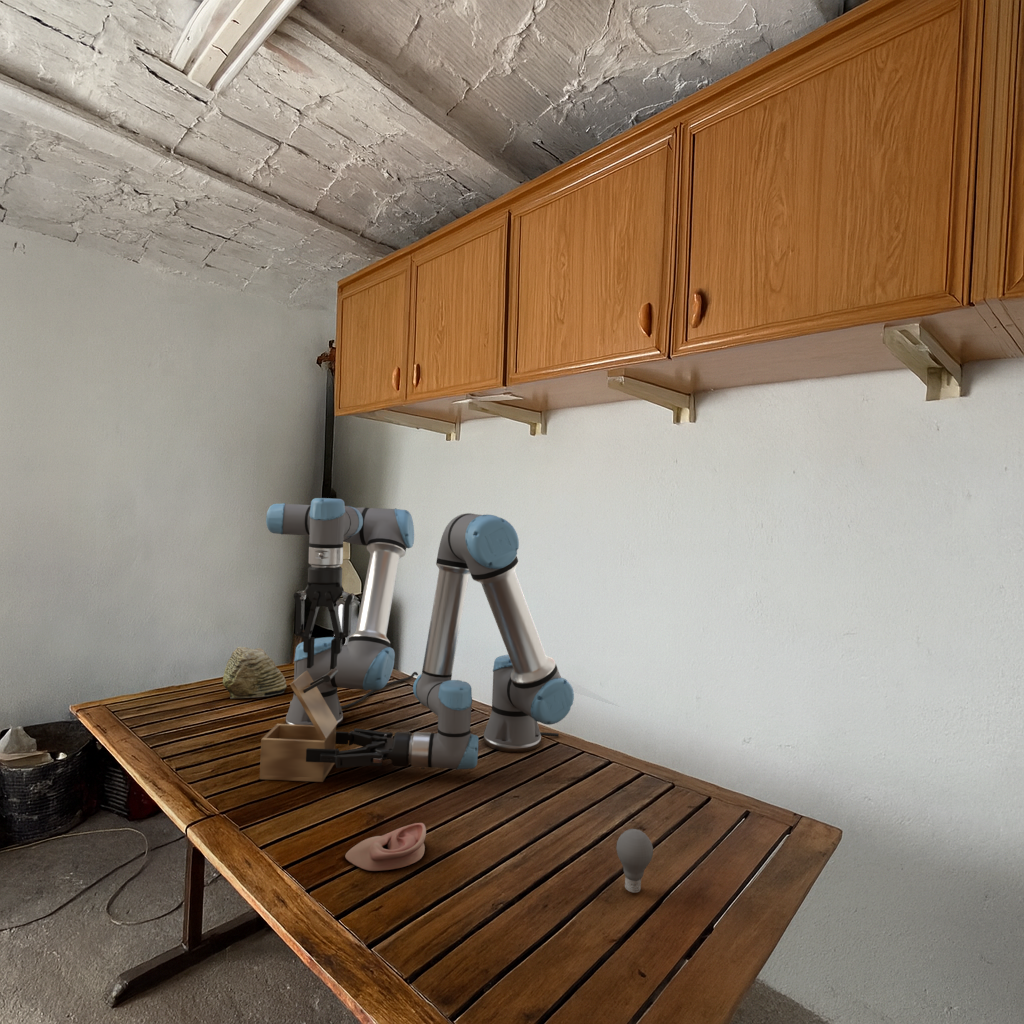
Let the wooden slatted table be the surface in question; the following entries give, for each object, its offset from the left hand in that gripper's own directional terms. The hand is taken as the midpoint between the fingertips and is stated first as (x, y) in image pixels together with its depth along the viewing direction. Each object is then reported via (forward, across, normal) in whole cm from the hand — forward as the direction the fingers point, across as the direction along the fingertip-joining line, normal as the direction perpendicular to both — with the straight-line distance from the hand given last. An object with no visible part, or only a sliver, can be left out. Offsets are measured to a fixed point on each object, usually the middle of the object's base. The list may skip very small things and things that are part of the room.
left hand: (321, 666), depth 145 cm
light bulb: (+24, +64, -42) cm, 80 cm away
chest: (+24, -4, 0) cm, 25 cm away
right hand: (+18, -1, 0) cm, 18 cm away
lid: (+9, -2, 0) cm, 9 cm away
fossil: (+25, -35, +53) cm, 68 cm away
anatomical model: (+24, +21, -33) cm, 46 cm away
